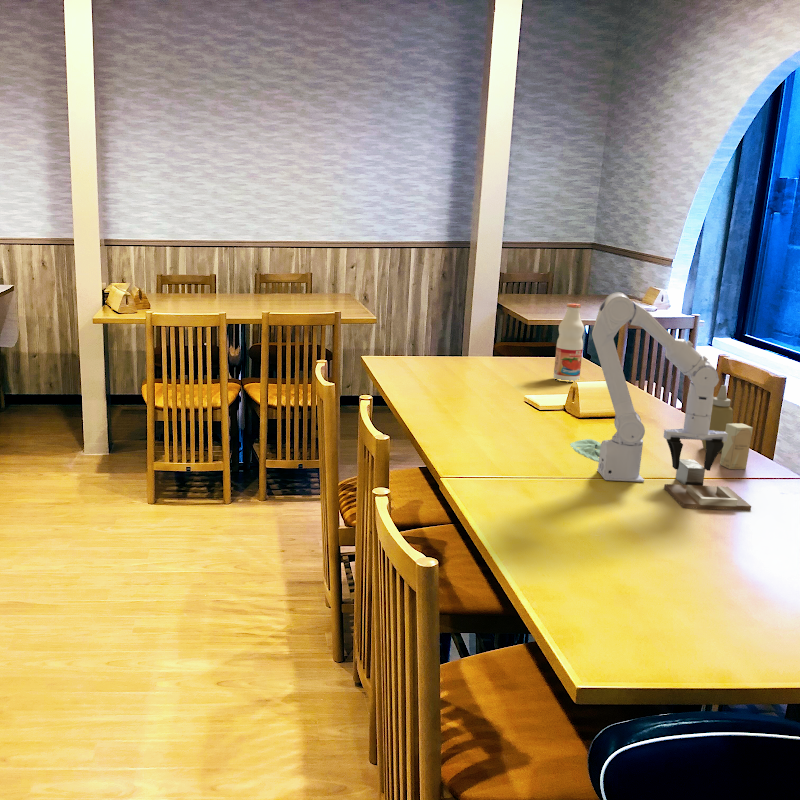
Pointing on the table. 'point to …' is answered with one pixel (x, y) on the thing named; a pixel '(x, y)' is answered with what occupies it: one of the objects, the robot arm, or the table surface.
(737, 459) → the box
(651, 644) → the table surface
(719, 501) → the holder
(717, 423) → the squeeze bottle
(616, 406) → the robot arm
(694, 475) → the block
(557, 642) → the table surface
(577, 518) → the table surface
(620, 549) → the table surface
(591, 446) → the cloth
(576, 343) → the fruit juice
